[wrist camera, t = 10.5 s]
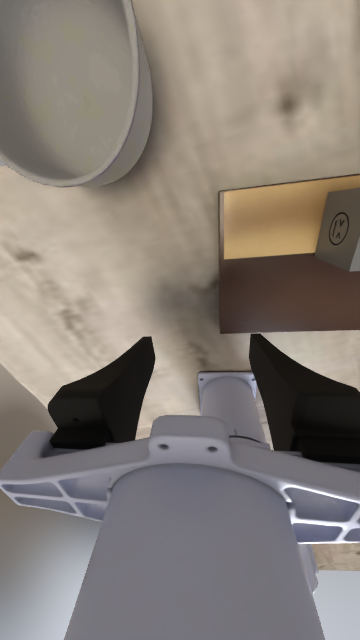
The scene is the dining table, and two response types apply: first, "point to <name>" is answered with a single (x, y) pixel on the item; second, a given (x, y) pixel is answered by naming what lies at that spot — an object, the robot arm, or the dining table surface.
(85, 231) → the dining table surface
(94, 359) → the dining table surface
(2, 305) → the dining table surface
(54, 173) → the teacup
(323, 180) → the walnut board
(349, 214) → the dice cube
